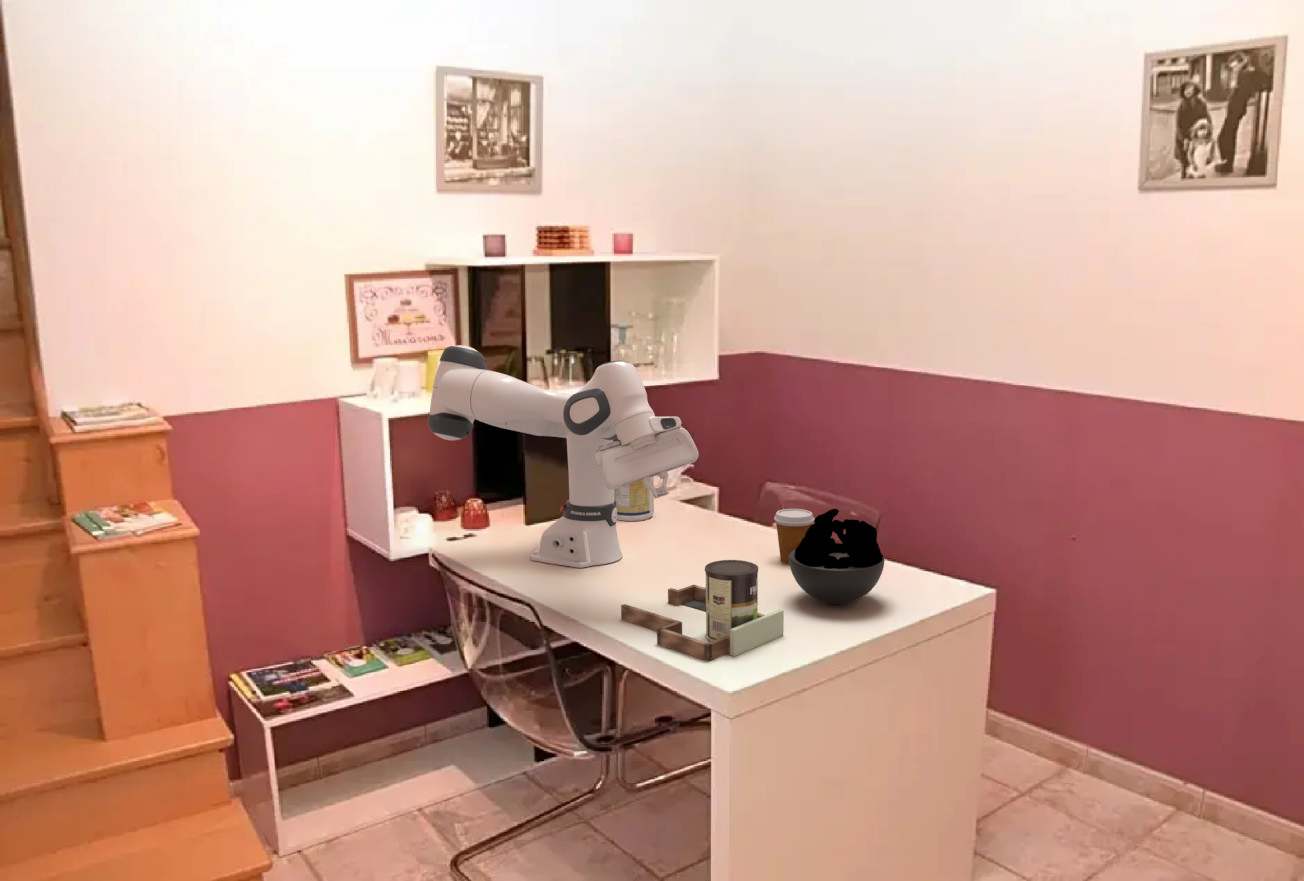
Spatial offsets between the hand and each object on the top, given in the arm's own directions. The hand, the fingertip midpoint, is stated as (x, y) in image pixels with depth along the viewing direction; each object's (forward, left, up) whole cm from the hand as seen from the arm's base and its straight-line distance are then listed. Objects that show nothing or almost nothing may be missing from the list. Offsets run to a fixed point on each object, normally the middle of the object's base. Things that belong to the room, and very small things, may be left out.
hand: (661, 496), depth 214 cm
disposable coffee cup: (+19, +44, -25) cm, 54 cm away
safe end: (+23, -12, -25) cm, 36 cm away
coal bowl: (+33, +17, -25) cm, 45 cm away
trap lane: (+10, -5, -25) cm, 27 cm away
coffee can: (+17, -9, -25) cm, 32 cm away
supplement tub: (-33, +75, -25) cm, 86 cm away
